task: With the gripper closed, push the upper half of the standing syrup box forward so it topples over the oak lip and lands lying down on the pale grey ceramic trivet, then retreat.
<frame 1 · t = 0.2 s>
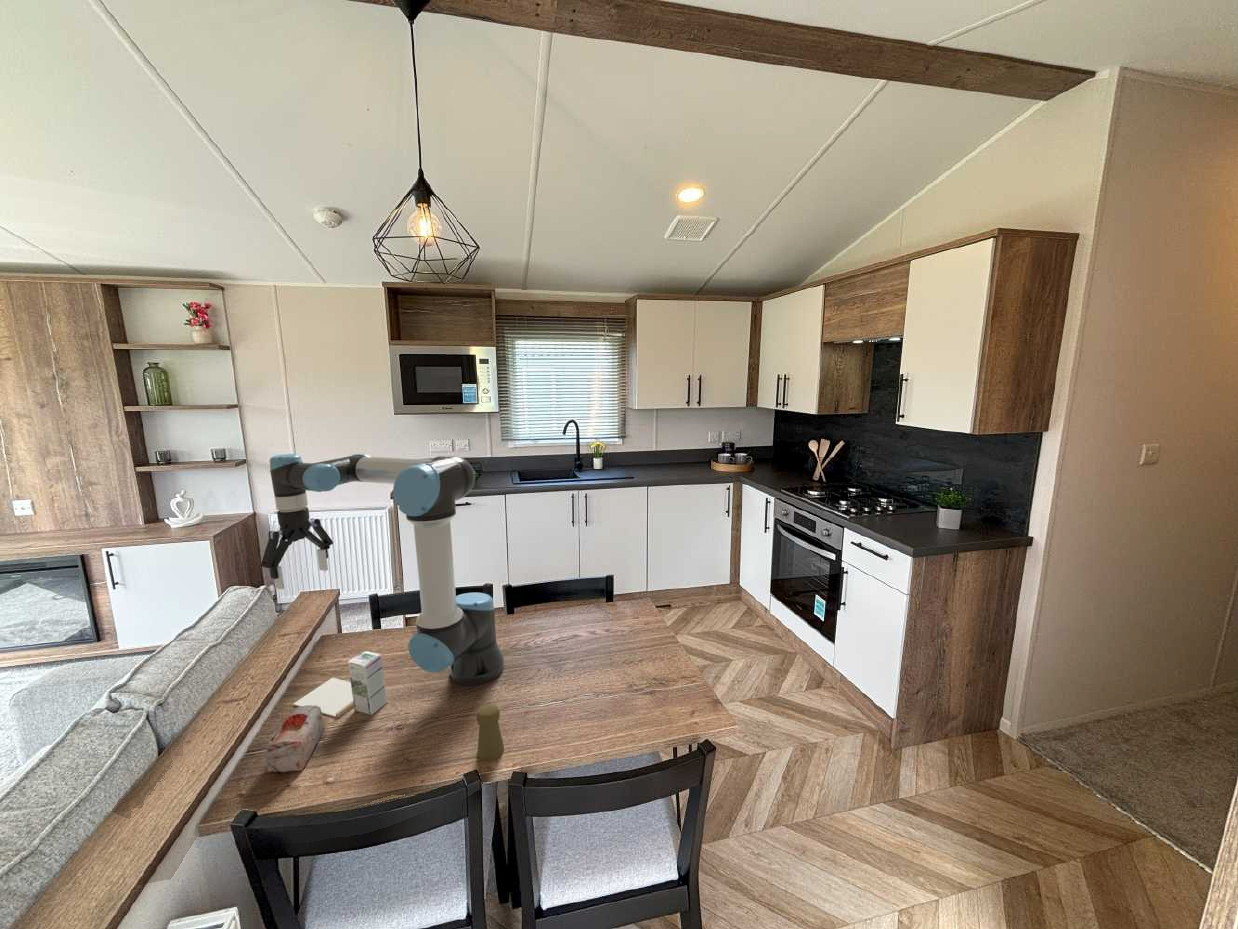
hand: (302, 578, 144), 28 cm above the table, fingers open, 13 cm apart
trivet: (335, 697, 134), on the table
syrup box: (371, 707, 130), on the table
olive green shaker: (490, 751, 114), on the table
food item: (299, 755, 114), on the table
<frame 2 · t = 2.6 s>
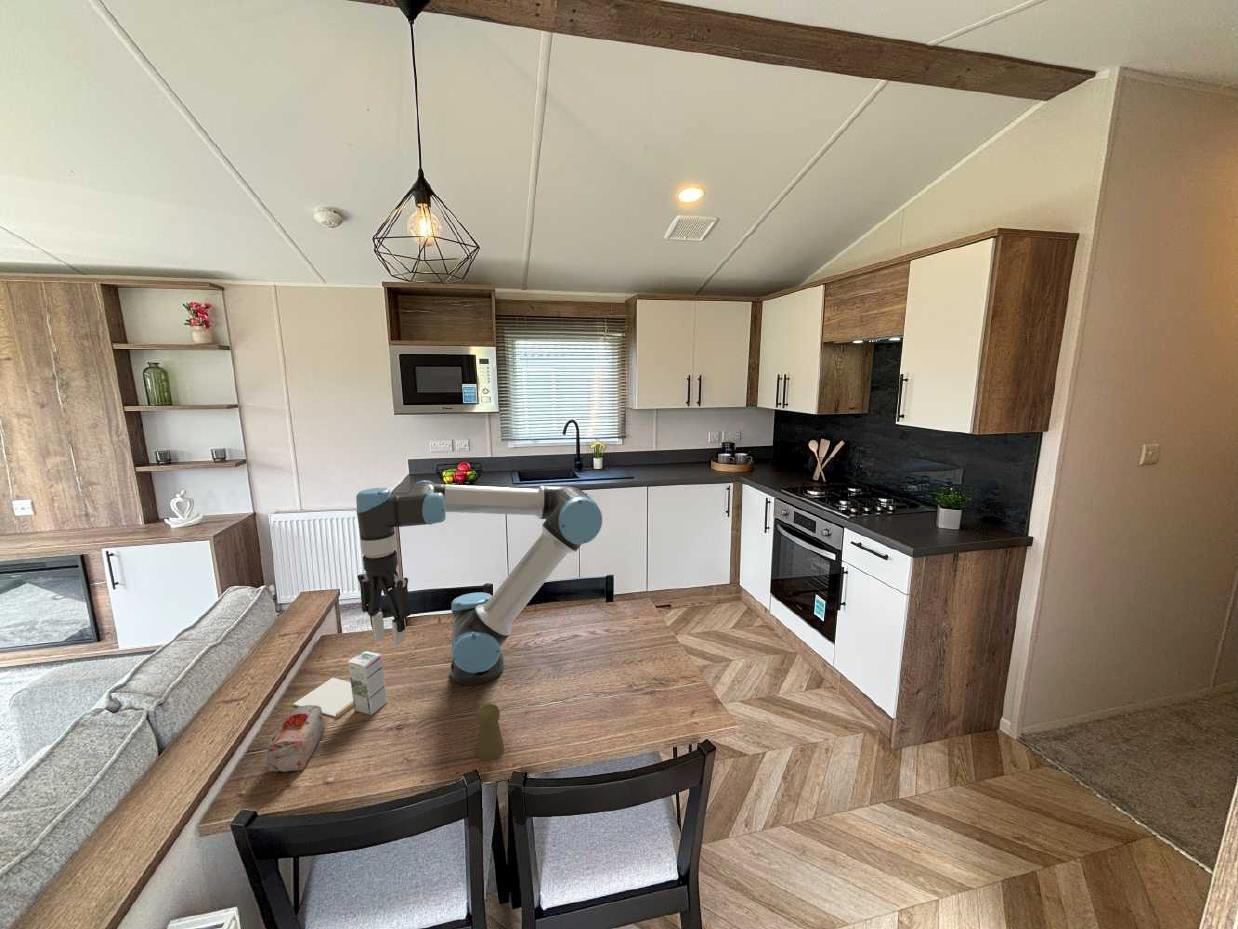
hand: (389, 640, 123), 21 cm above the table, fingers open, 6 cm apart
nothing on the table moved.
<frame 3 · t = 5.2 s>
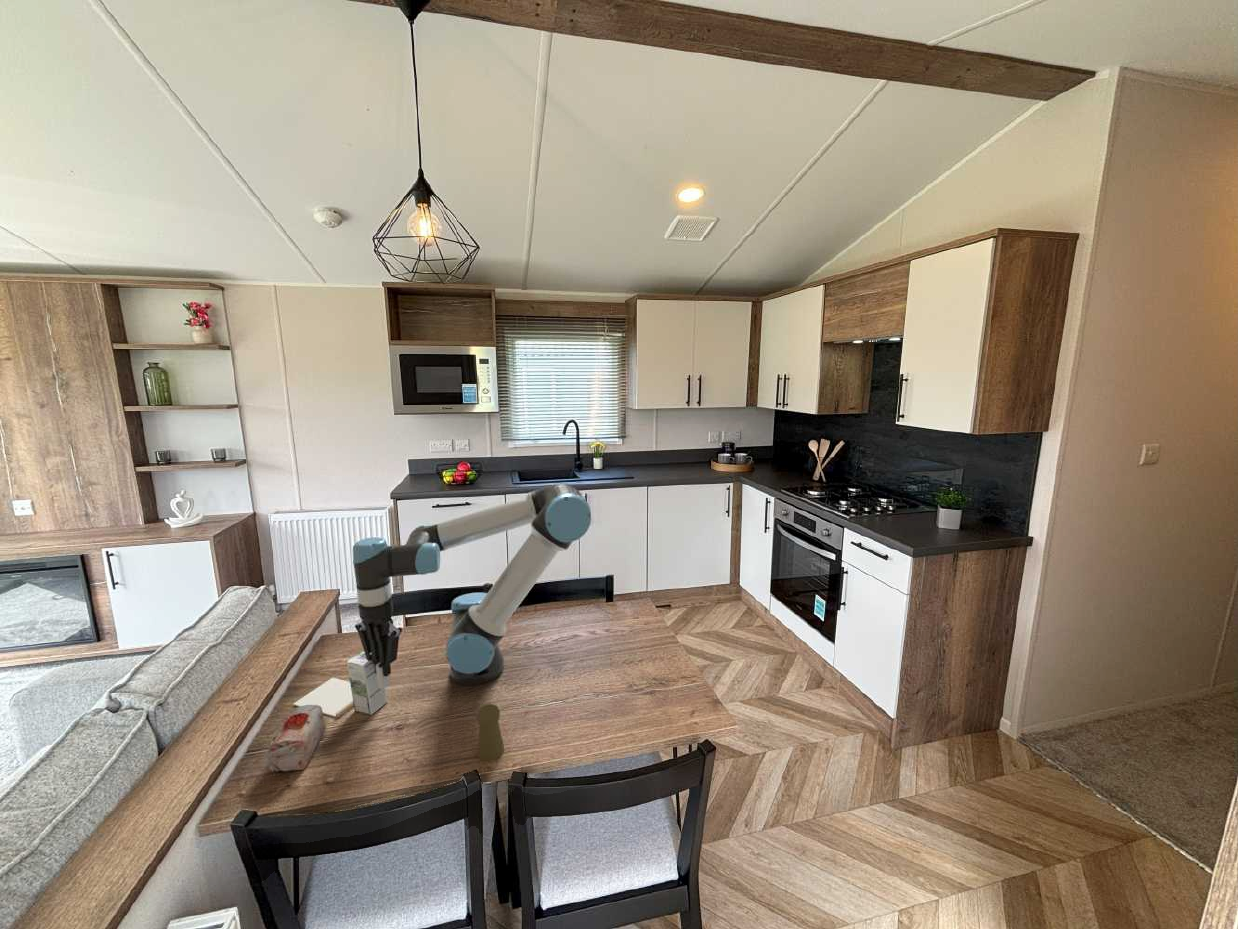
hand: (384, 685, 127), 8 cm above the table, fingers closed
syrup box: (371, 707, 130), on the table, touching gripper
everything else where it was.
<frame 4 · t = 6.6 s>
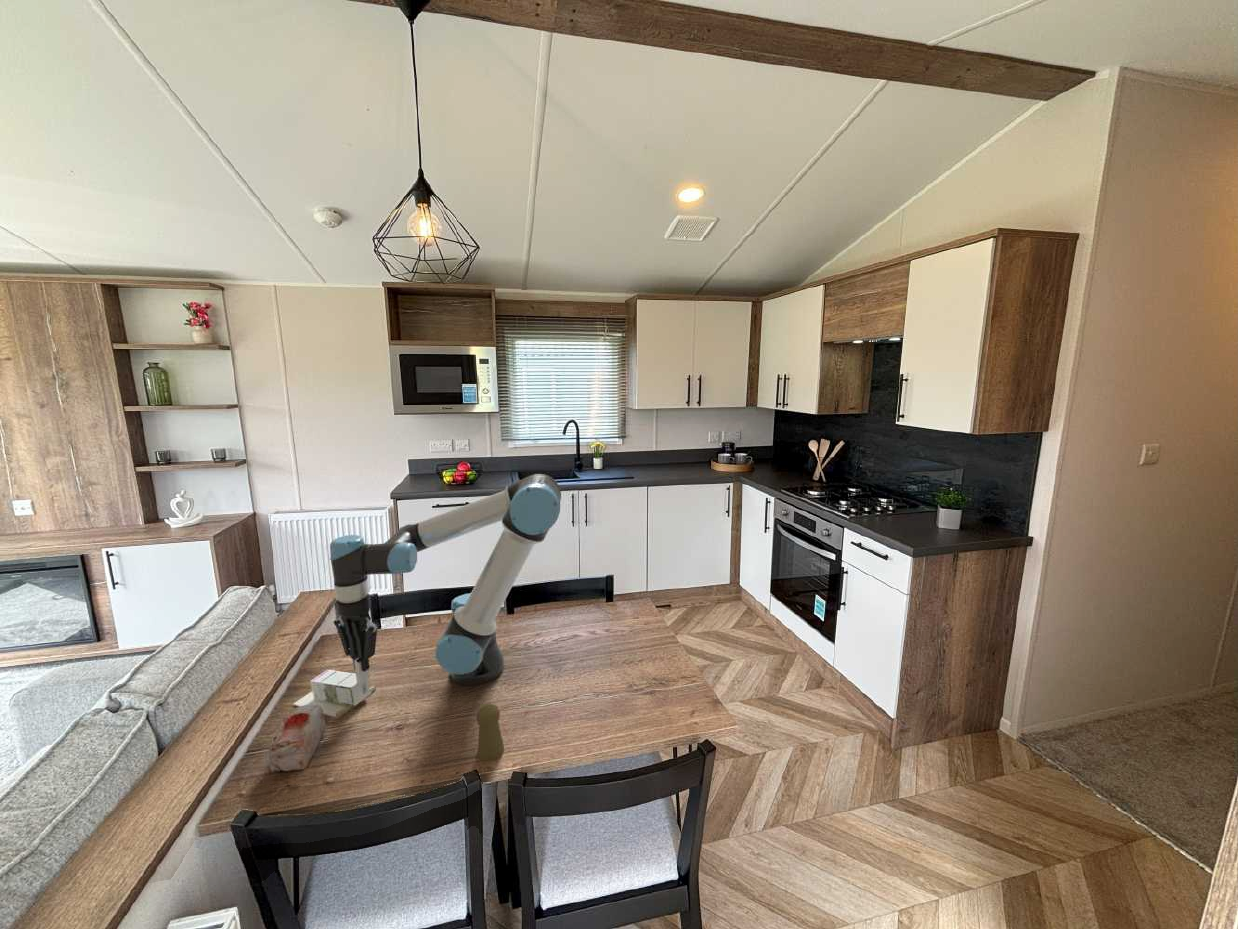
hand: (363, 680, 129), 7 cm above the table, fingers closed
syrup box: (361, 690, 130), point 4 cm above the table, touching trivet
everything else where it was.
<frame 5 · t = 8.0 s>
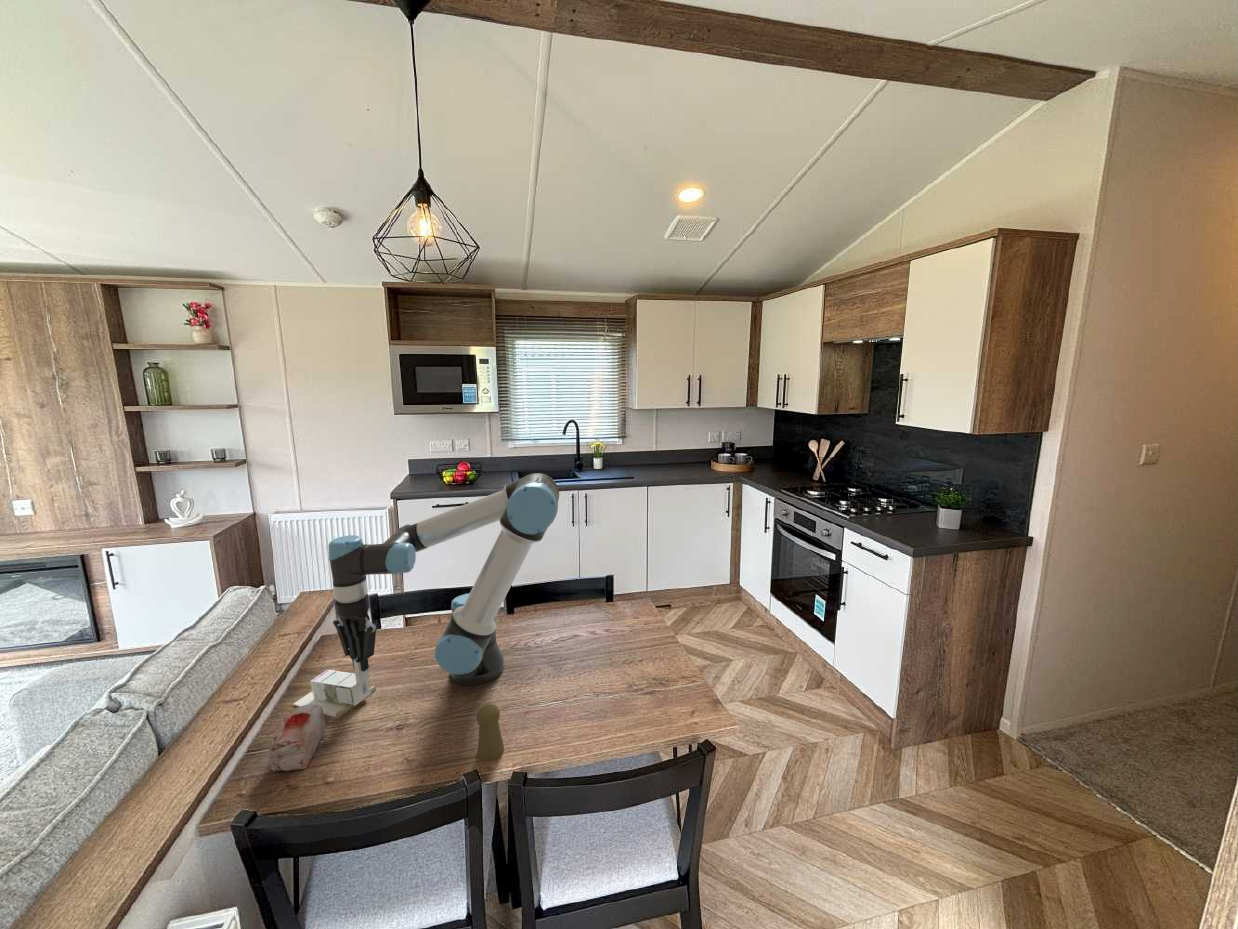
hand: (362, 680, 129), 7 cm above the table, fingers closed
nothing on the table moved.
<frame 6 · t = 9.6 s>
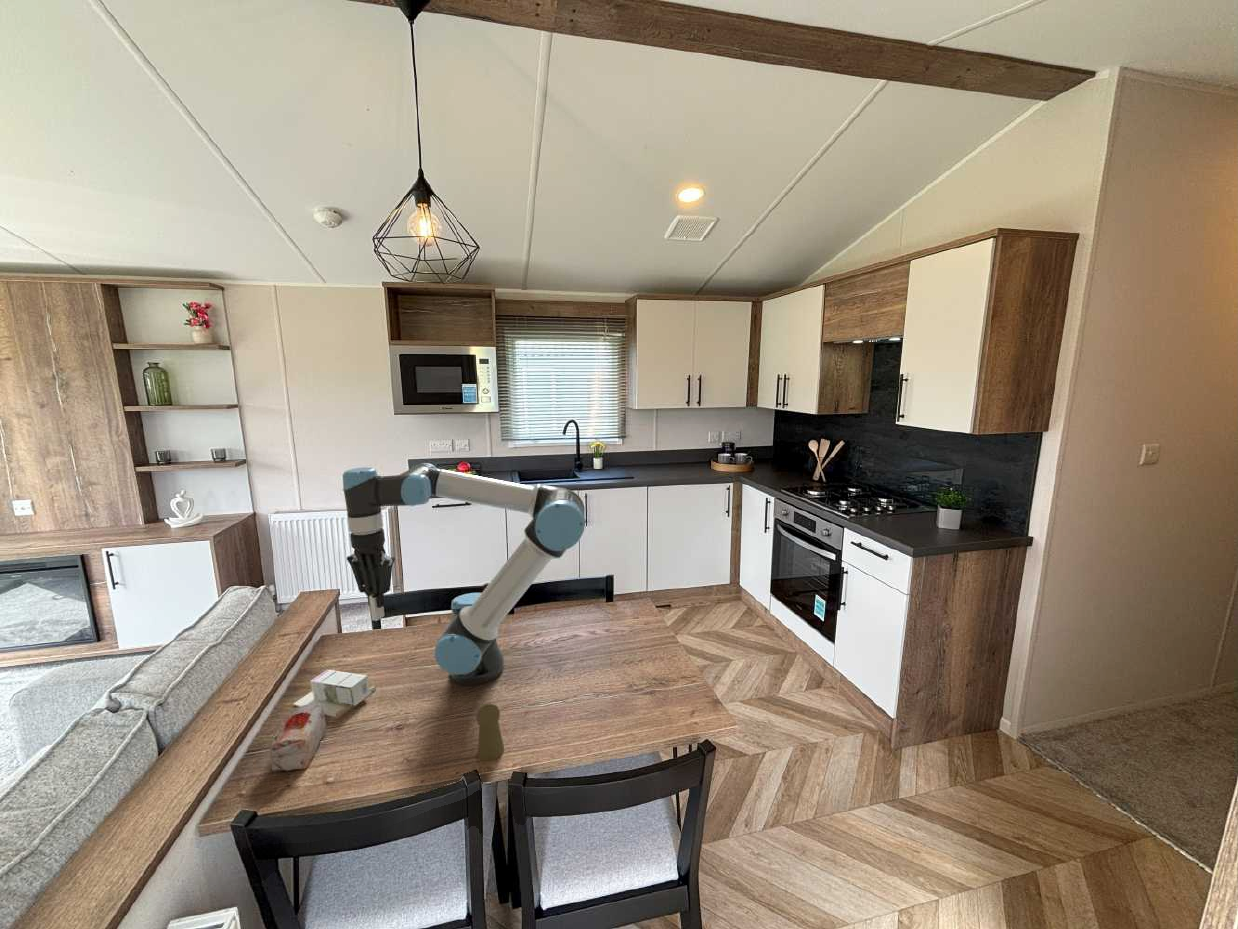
hand: (378, 618, 127), 25 cm above the table, fingers closed
nothing on the table moved.
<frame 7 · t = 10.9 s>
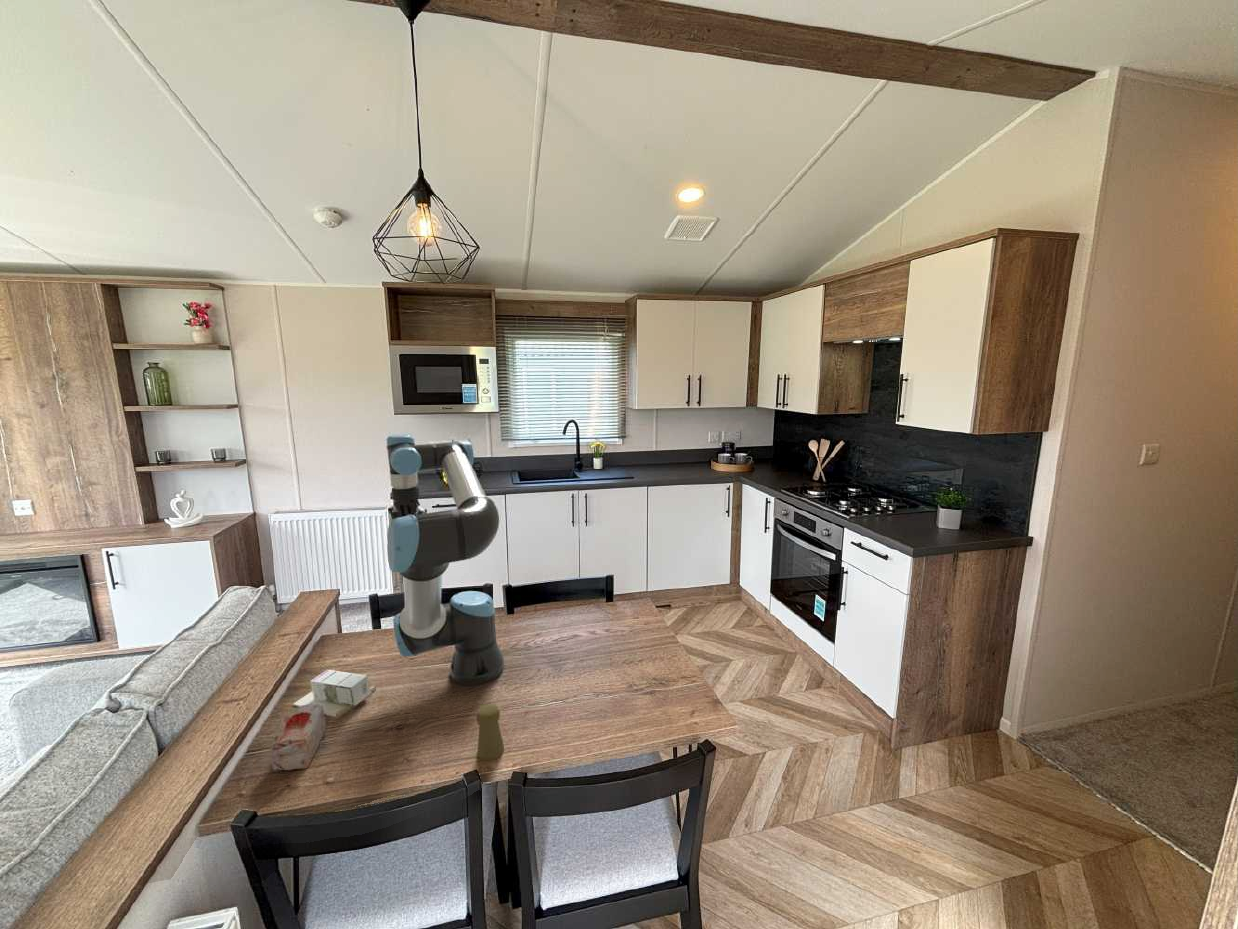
hand: (412, 560, 153), 29 cm above the table, fingers closed
nothing on the table moved.
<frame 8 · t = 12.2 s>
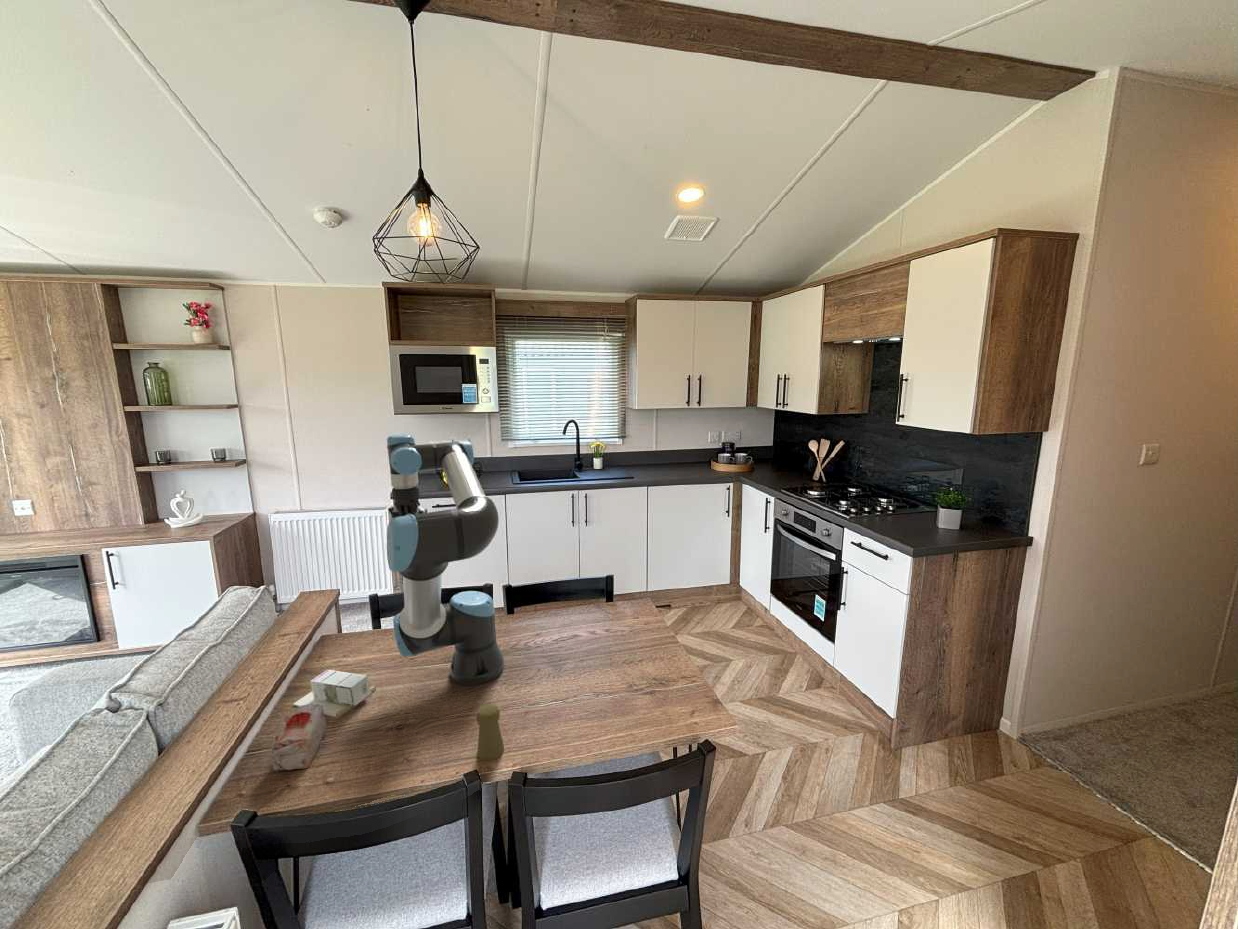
hand: (412, 559, 153), 29 cm above the table, fingers closed
nothing on the table moved.
at the end: syrup box tilted 94°; syrup box inside the target area (10.5 cm from its centre), point 4.2 cm above the table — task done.
